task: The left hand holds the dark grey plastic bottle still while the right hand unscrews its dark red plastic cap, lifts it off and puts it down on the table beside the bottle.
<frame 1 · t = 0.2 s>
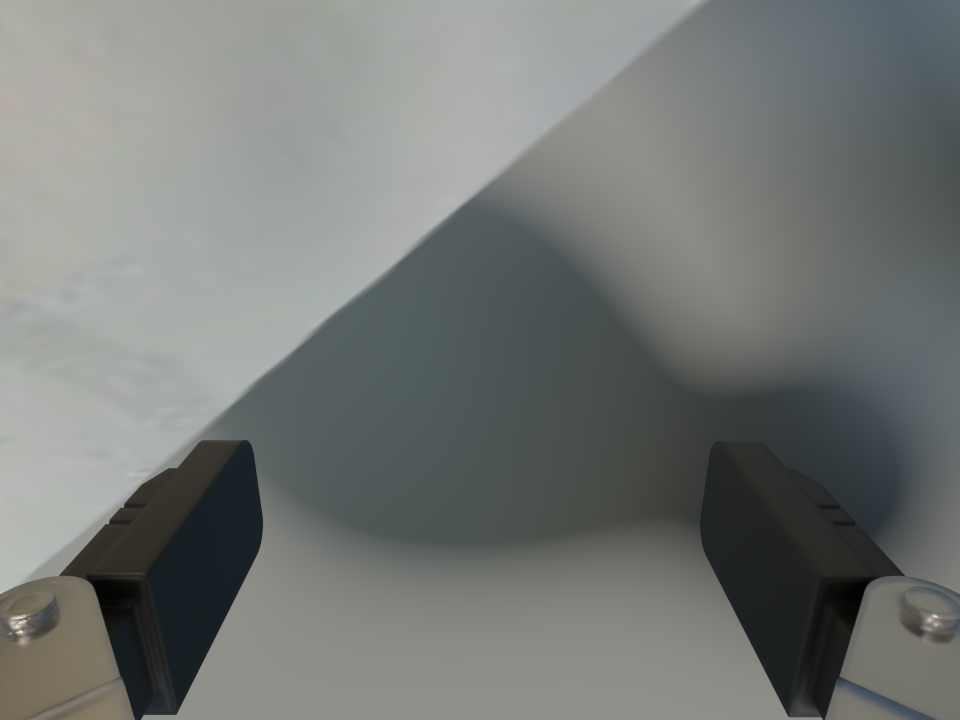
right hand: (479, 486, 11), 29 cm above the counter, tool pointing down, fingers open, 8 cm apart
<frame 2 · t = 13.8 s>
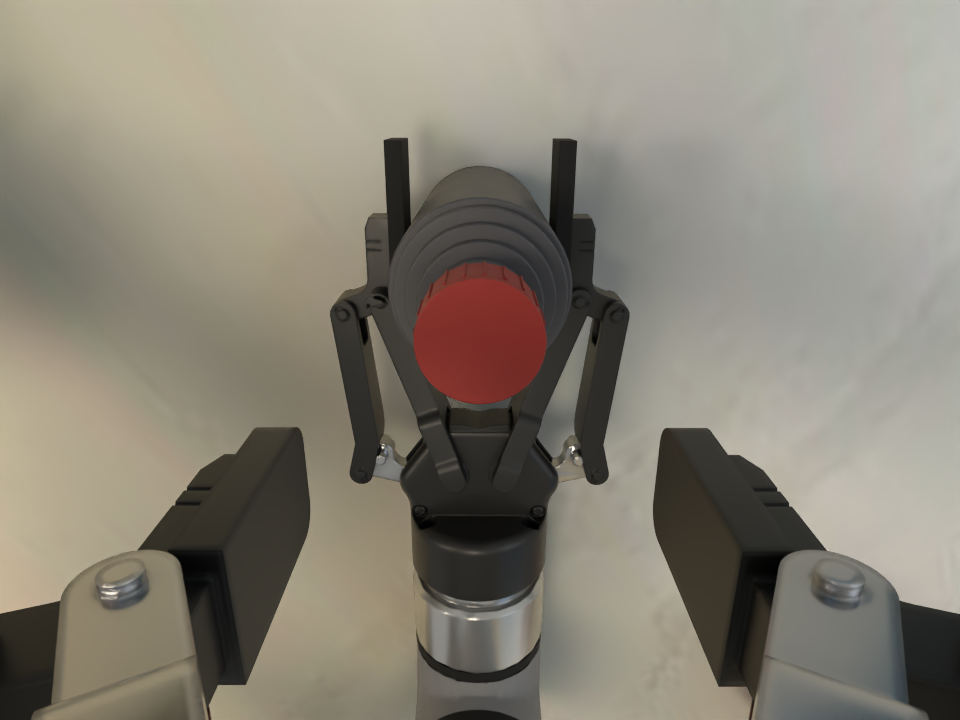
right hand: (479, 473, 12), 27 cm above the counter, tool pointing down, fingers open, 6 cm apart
left hand: (480, 140, 29), fingers closed on bottle, 7 cm apart
bottle: (480, 228, 37), on the counter, touching left hand
cap: (480, 340, 19), point 19 cm above the counter, screwed on, not yet turned
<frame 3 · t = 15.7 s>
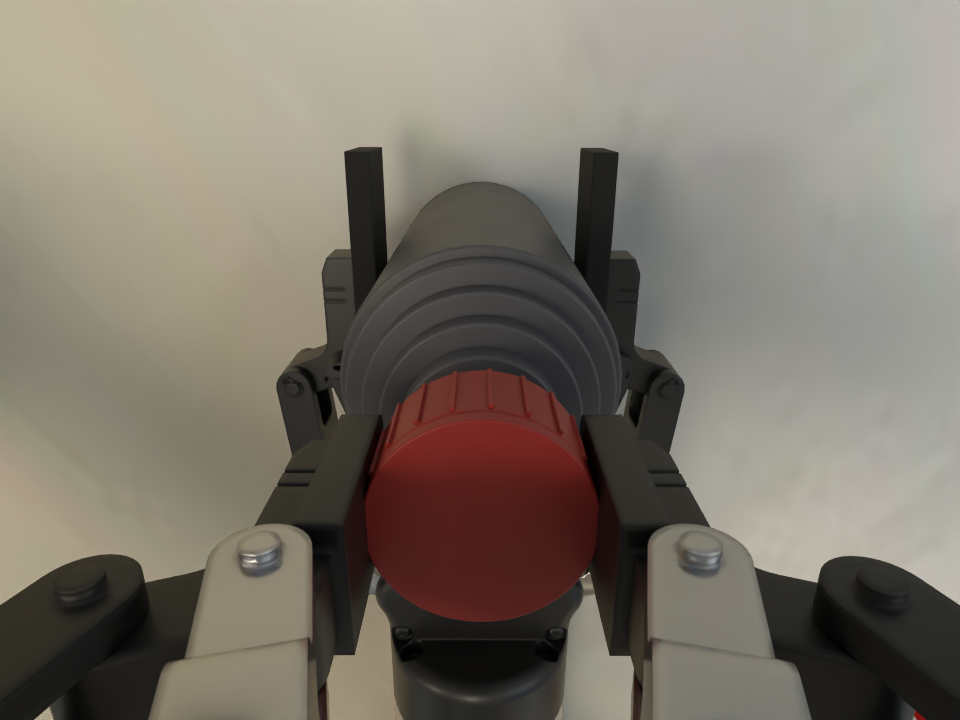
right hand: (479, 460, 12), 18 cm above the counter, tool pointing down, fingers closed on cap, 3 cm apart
bottle: (480, 260, 29), on the counter, touching left hand
cap: (481, 517, 10), point 19 cm above the counter, screwed on, not yet turned, touching right hand
when the right hand's fingers open (1 cm above the counter, at t = 33.8 s): cap drops 2 cm, point 2 cm above the counter.
when the left hand's fingers open (7 cm above the counter, at t = 35.0 s): bottle stays where it is, on the counter.
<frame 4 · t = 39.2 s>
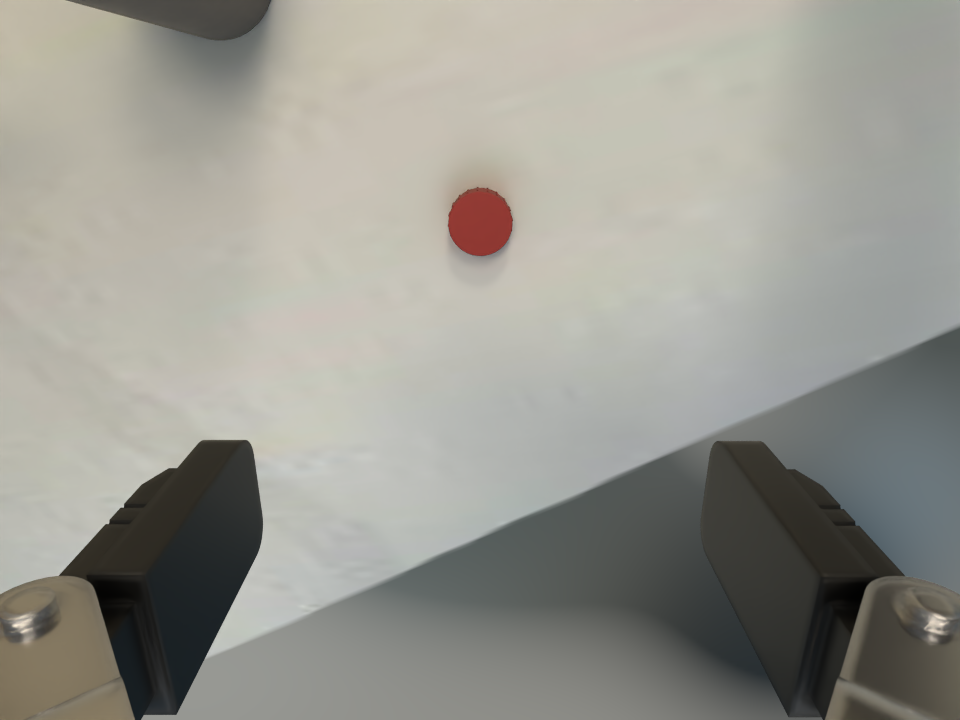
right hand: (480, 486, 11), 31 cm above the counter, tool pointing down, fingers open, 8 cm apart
cap: (480, 223, 39), point 2 cm above the counter, off its thread
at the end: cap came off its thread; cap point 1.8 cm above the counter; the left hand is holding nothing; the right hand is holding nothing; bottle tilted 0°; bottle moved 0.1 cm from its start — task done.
